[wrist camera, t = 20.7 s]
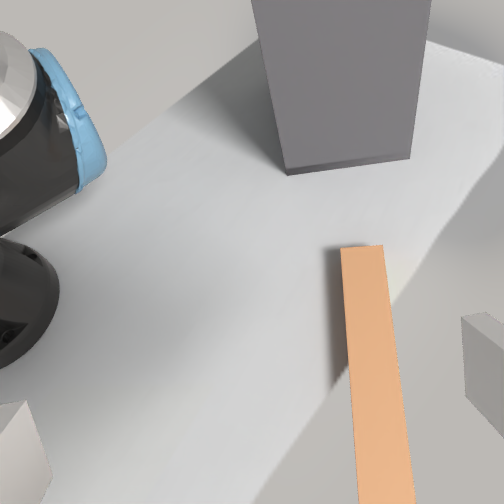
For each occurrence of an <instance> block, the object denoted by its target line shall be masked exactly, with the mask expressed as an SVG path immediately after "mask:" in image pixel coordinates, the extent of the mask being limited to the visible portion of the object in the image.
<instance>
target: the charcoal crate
mask: <svg viewBox="0 0 504 504" xmlns="http://www.w3.org/2000/svg"><path fill="white" fill-rule="evenodd" d="M251 2H252V7H253V12H254V17H255V21H256V26H257V31H258V36H259V41H260V46H261V51H262V56H263V61H264V66H265V71H266V75H267V80H268V85H269V90H270V95H271V100H272V105H273V110H274V114H275V119H276V124H277V129H278V134H279V139H280V144H281V149H282V153H283V158H284V163H285V168H286V173H287V176H289V175H296V174H303V173H310V172H317V171H325V170H332V169H339V168H346V167H353V166H361V165H368V164H375V163H382V162H389V161H397V160H404V159H410V153H411V145H412V138H413V131H414V124H415V116H416V109H417V102H418V94H419V87H420V80H421V73H422V65H423V58H424V51H425V44H426V36H427V29H428V21H429V15H430V7H431V0H251Z"/></svg>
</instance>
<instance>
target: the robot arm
mask: <svg viewBox="0 0 504 504" xmlns="http://www.w3.org/2000/svg"><path fill="white" fill-rule="evenodd" d="M106 165H107V156H106V152H105V149H104V147H103V144H102V141H101V139H100V137H99V135H98V133H97V131H96V128H95V126H94V124H93V122H92V121H91V119H90V117H89V115H88V113H87V112H86V111H85V110H84V106H83V104H82V102H81V100H80V98H79V96H78V94H77V92H76V90H75V89H74V87H73V85H72V84H71V82H70V80H69V79H68V77H67V75H66V73H65V72H64V71H63V69H62V67H61V66H60V64H59V63H58V61H57V60H56V58H55V57H54V56H53V54H52V53H51V52H50V51H48V50H47V49H45V48H37V49H29V50H27V49H26V47H25V46H24V45H23V44H22V43H21V42H19V41H18V40H17V39H15V38H14V37H13V36H12V35H10V34H8V33H5V32H3V31H0V237H1V236H2V235H4V234H6V233H8V232H9V231H11V230H13V229H15V228H16V227H18V226H20V225H21V224H23V223H25V222H27V221H28V220H30V219H32V218H34V217H35V216H37V215H39V214H41V213H42V212H44V211H46V210H47V209H49V208H51V207H53V206H54V205H56V204H58V203H60V202H61V201H63V200H65V199H67V198H68V197H70V196H72V195H73V194H77V193H79V192H80V191H81V190H82V188H83V187H84V186H85V185H87V184H88V183H90V182H91V181H93V180H94V179H96V178H97V177H99V176H100V175H101V174H102V173H103V172H104V171H105V168H106ZM58 299H59V280H58V276H57V273H56V271H55V269H54V268H53V266H52V265H51V264H50V263H49V262H48V261H47V260H46V259H45V258H44V257H43V256H41V255H40V254H39V253H38V252H36V251H35V250H33V249H31V248H30V247H27V246H25V245H22V244H19V243H16V242H12V241H9V240H6V239H3V238H0V369H1V368H3V367H5V366H7V365H9V364H11V363H12V362H14V361H15V360H17V359H18V358H20V357H21V356H22V355H23V354H25V353H26V352H27V351H28V350H29V349H30V348H31V347H32V346H33V345H34V344H35V343H36V342H37V341H38V340H39V338H40V337H41V336H42V335H43V333H44V332H45V330H46V329H47V327H48V325H49V324H50V322H51V320H52V318H53V316H54V313H55V310H56V307H57V304H58ZM461 326H462V343H463V360H464V375H465V393H466V398H467V399H468V400H469V401H470V402H471V403H472V404H473V405H474V406H475V407H476V408H477V410H478V411H479V412H480V413H481V414H482V415H483V416H484V417H485V418H486V419H487V420H488V422H489V423H490V424H491V425H492V426H493V427H494V428H495V429H496V430H497V431H498V432H499V434H500V435H501V436H502V437H503V438H504V324H503V323H501V322H500V321H498V320H497V319H495V318H494V317H493V316H491V315H490V314H488V313H487V312H483V313H478V314H473V315H468V316H463V317H461ZM52 478H53V474H52V471H51V468H50V465H49V462H48V460H47V457H46V454H45V451H44V448H43V445H42V443H41V440H40V437H39V434H38V431H37V429H36V426H35V423H34V420H33V417H32V414H31V412H30V409H29V406H28V403H27V400H22V401H17V402H12V403H6V404H1V405H0V504H40V502H41V500H42V498H43V496H44V494H45V492H46V490H47V488H48V486H49V484H50V482H51V480H52Z"/></svg>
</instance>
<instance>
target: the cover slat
mask: <svg viewBox="0 0 504 504" xmlns="http://www.w3.org/2000/svg"><path fill="white" fill-rule="evenodd" d="M340 251H341V265H342V278H343V292H344V306H345V320H346V334H347V347H348V361H349V374H350V389H351V402H352V416H353V430H354V444H355V457H356V471H357V484H358V497H359V504H416V498H415V491H414V483H413V475H412V467H411V460H410V452H409V445H408V436H407V429H406V421H405V413H404V405H403V398H402V390H401V383H400V375H399V367H398V360H397V352H396V344H395V336H394V329H393V322H392V313H391V305H390V298H389V290H388V282H387V275H386V267H385V259H384V251H383V245H376V246H362V247H348V248H340Z"/></svg>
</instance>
